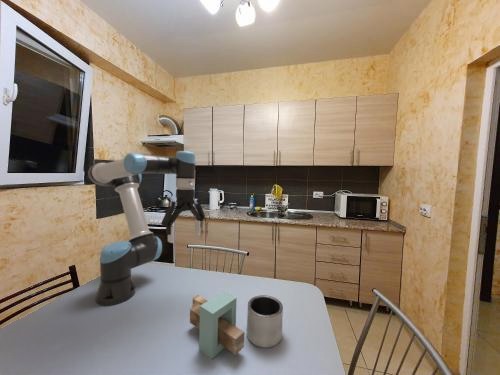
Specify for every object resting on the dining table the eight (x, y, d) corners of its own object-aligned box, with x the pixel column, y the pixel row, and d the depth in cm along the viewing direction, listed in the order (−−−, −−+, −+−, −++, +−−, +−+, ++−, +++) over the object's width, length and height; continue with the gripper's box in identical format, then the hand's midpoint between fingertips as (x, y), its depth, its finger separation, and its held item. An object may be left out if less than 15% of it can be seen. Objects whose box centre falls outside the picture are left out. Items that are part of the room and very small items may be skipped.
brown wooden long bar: (189, 322, 77) (189, 309, 77) (198, 316, 80) (198, 303, 80) (235, 355, 64) (235, 339, 63) (244, 346, 67) (244, 331, 67)
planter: (272, 356, 67) (273, 322, 66) (239, 338, 74) (240, 307, 73) (287, 331, 78) (288, 302, 77) (257, 318, 84) (258, 291, 83)
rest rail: (192, 307, 90) (192, 298, 89) (197, 304, 92) (197, 295, 92) (212, 319, 82) (212, 309, 82) (217, 315, 85) (217, 306, 84)
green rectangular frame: (199, 348, 69) (199, 305, 68) (222, 329, 77) (223, 291, 76) (211, 359, 65) (212, 313, 64) (235, 337, 74) (236, 297, 73)
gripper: (162, 190, 77) (162, 248, 78) (213, 188, 97) (212, 233, 98) (151, 189, 81) (151, 243, 83) (202, 187, 101) (202, 230, 103)
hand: (184, 238), depth 90 cm, fingers open, 13 cm apart
